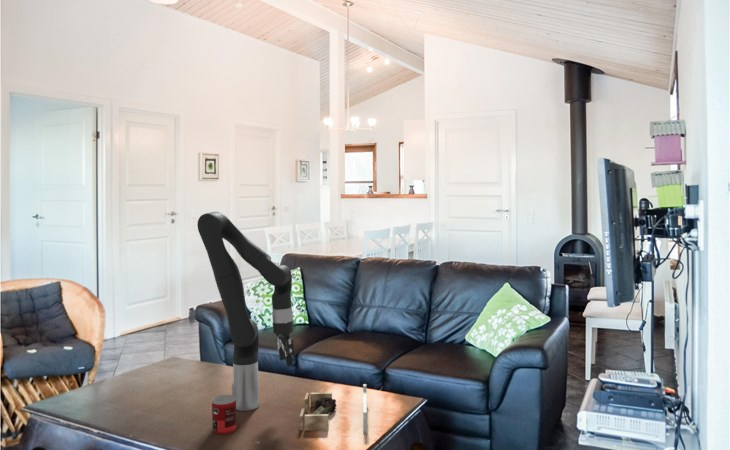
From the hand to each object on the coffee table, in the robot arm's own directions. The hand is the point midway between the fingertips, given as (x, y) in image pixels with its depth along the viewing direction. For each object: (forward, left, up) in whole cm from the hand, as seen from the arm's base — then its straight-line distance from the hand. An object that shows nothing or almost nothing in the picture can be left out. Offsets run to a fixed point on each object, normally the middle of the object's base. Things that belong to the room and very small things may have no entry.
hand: (285, 362), depth 203 cm
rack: (+29, -7, -18) cm, 35 cm away
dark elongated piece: (+13, -7, -18) cm, 24 cm away
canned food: (-19, -17, -18) cm, 31 cm away
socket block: (+12, -7, -18) cm, 22 cm away
